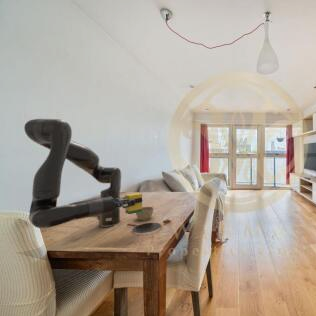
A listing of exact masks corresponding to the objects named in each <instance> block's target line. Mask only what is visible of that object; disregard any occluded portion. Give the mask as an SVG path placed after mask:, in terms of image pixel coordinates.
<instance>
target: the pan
mask: <svg viewBox="0 0 316 316" xmlns="http://www.w3.org/2000/svg"><path fill="white" fill-rule="evenodd" d="M126 226H130V227H133V228H132V230H131V231H132V232H133V233H137V234H146V233H151V232H154V231H157V230H159V229H160V228H162V224H161V223H160V222H146V223H141V224H135V223H127V224H126Z"/></svg>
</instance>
